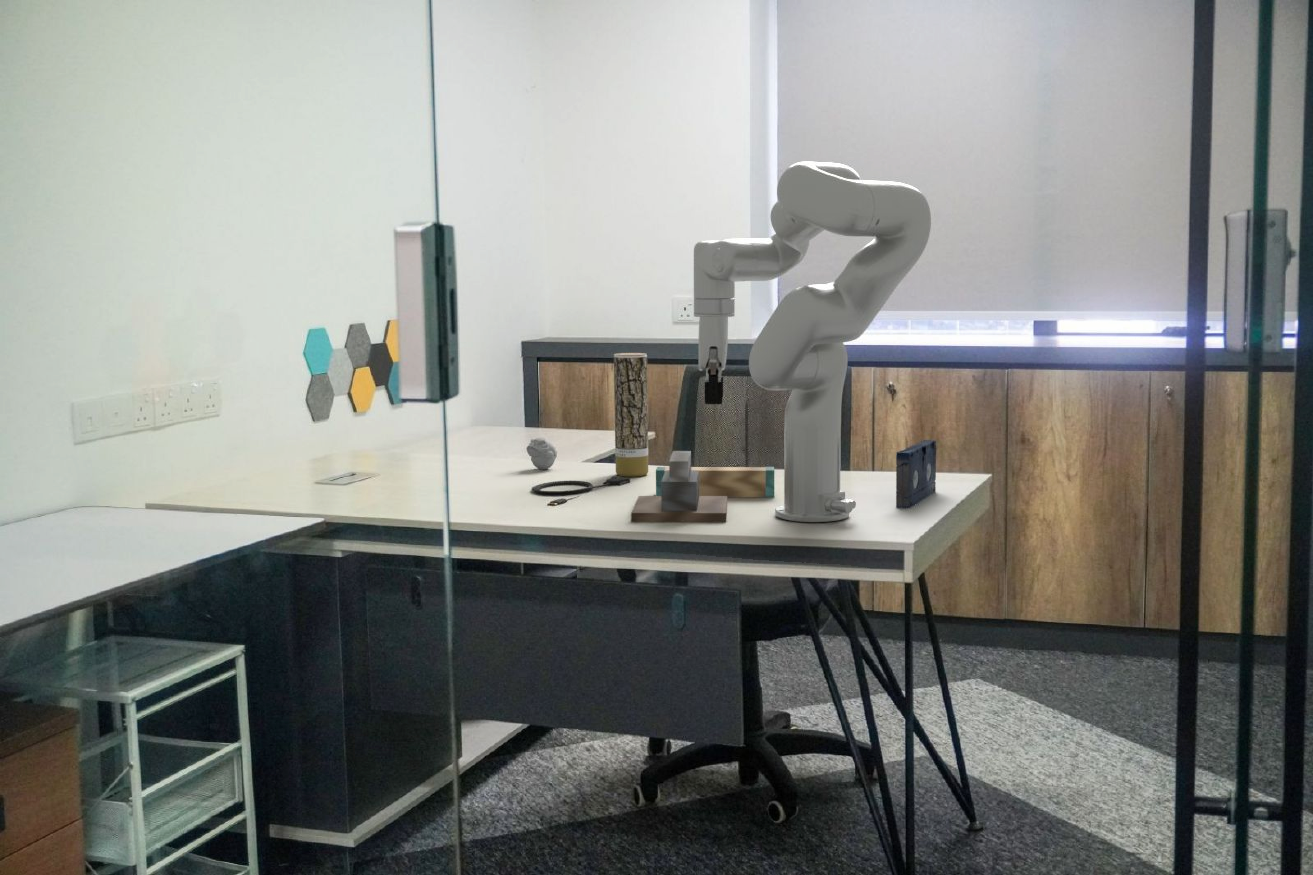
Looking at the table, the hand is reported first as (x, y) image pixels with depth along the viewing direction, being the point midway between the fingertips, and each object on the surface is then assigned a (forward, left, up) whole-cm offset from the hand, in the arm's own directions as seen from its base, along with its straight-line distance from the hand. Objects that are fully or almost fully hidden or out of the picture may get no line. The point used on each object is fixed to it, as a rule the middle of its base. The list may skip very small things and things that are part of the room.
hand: (714, 400), depth 235 cm
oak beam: (0, 0, -18) cm, 18 cm away
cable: (+24, +17, -19) cm, 35 cm away
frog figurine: (+48, +5, -18) cm, 51 cm away
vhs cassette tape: (-29, -23, -18) cm, 41 cm away
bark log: (+29, -4, -18) cm, 34 cm away
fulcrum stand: (-8, +16, -18) cm, 25 cm away
